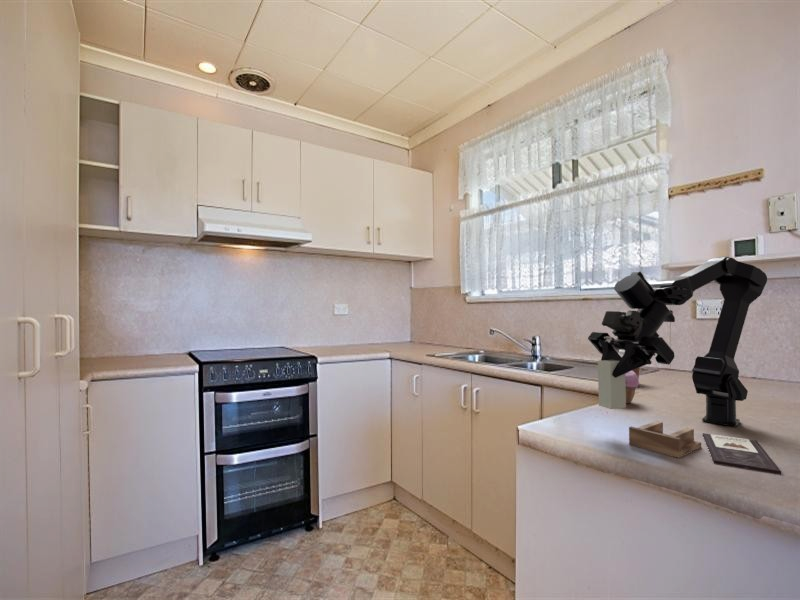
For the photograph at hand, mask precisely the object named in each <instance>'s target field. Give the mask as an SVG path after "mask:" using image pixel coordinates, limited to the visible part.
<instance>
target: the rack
mask: <svg viewBox="0 0 800 600" xmlns="http://www.w3.org/2000/svg"><path fill="white" fill-rule="evenodd" d="M694 429H695V428H691V427H685V428H682V429H680V430H678V431H675V432H672V433H670V434H668V433H664V422H663V421H659V420H654V421H652V422H649V423H647V424H645V425H644V424H643V425H641V426H639V427H635V426H628V432H629V433H628V439H629V440H628V445H631V446H634V447H637V448H641V449H645V450H648V451H652V452H655V453H658V452H659V454H662V453H663V454H662V455H665V454H667V455H666V456H669V455H671V456H670V457H673V456H675V457H674V458H676V457H678V458H677V459H680V458H682V457H684V456H683V455H685V454H687V453H689V452H691V451H693V450H695V449H697V448H699V449H701V448H702V442H701V441H696V440H695V430H694ZM700 447H701V448H700ZM697 450H698V449H697ZM695 451H696V450H695ZM693 452H694V451H693ZM691 453H692V452H691ZM689 454H690V453H689ZM687 455H688V454H687ZM681 456H682V457H681ZM685 456H686V455H685ZM679 457H680V458H679Z"/></svg>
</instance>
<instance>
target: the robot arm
mask: <svg viewBox="0 0 800 600" xmlns="http://www.w3.org/2000/svg"><path fill="white" fill-rule="evenodd" d="M711 282H714V283H716V284H718V285H719V291H720V294H721V295H722V297H723V303H722V306H721V310H720V313H719V317H718V319H717V323H716V327H715V330H714V333H713V337H712V340H711V342H710V345H709V351H708V352H707V353H706V354H705V355H703V356H700V355H698V356H696V358H695V359H694V360H695V361H694V365H693V367H692V369H691V372H692V374H691V379H692V382H693V386H694V389H695V392H696V394H698V395H700V394H701V395H704V396H705V415H704V416H703V418H701V421H702V422H706V423H711V424H717V425H723V426H729V427H737V426H738V425H739V423H740V422H741V420H740V419H739V418H737V409H736V408H737V402H738V401H739V402H743V401H744V400H747V398H748V397H747V396H748V392H749V391H748V389H747V388H746V387H745V385H744V384H743V383H742V382H741V381H740V379H739V375H740V369H739V367H738V365H737V363H736V360H735V356H736V353H737V350H738V345H739V343H740V342H739V341H740V339H741V335H742V332H743V328H744V325H745V320H746V318H747V314H748V311H749V307H750V305H751V304H752V303H753V302H754V301H756V300H757V299H758V298H759V297H760V296H762V293H763V292H764V289H765V286H766V284H767V282H768V276H767V274H766V272H764V271H763V270H762V269H761V268H758V267H757V266H755V265H753V264H750V263H746V262H741V261H738V260H737V259H735V258H733V257H730V256H723V257H713V258H710V259H708V260H706V262H704V263H702V264H700V265H698V266H697V267H694V268H692V269H690V270H689V271H686V272H684V273H683V274H680V275H678V276H676V277H670V278H664V279H659V280H656V281H652V282H651V283H649V282H648V280H647V279H646V277H645V276H644V274H643V273H642V271H633V272H631V273H630V275H629V274H628V276H625V277H623V278H622V279H620V280H619V281H617V282H616V283H615V284H614V287H613V290H614V292H616V293H617V295H618V296H619V297H620V298H621V300H622V301H623V302H624V304H625V305H626V306H627V308H629V309H633V310H628V311H627V312H625V311H619V310H618V311H616V310H612V311H611V310H607V311H605V313H604V316H603V319H602V322H601V325H602V326H603V327H607V328H608V329H611V330H612V332H611V333H612V334H613V335H614V336H615V337H617V338H615V337H612V336H610V334H609V333H608V332H605V331H603V332H601V331H592V332H591V333H590V334H589V336H588V337H587V340H588V341H589V342H590V343H591V344H592V345H593V347H594V348H595V349H596V350H597V351H598V353H600V354H601V359H600V360H618V361H619V363H618V364H617V366H616V367H615V369H614V371H613V373H612V375H613V376H614V377H615V378H616V377H619V376H621V375H623V374H625V373H627V372H629V371H632V370H634V369H636V368H639V367H640V368H642V367H644V366H647V365H652V358H653V357H655V361H656V363H658V364H662V365H671V363H672V361H673V360H674V359H675V351H674V350H673V349H672V348H671V346H670V345H669V344H668V343H667V342H666V340H665V339H664V338H663V337H661V336H660V334H658V330H659V329H660V328H661V327H662V325H663V323H675V322H676V317H675V315H674V314H673V313H674V311H673V309H672V310H671V309H669V308H668V307H667V306H681V305H684V304H686V303H687V302H688V301H689V300H690V299H692V297H694V292H695V291H697V290H699V289H700V288H702V287H704V286H706V285H708V284H710V283H711ZM636 309H637V310H636ZM619 350H625V353H624V355H623V357H621V356H620V355H619V354H618V353H619ZM640 368H639V369H640Z"/></svg>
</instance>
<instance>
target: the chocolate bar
mask: <svg viewBox="0 0 800 600" xmlns="http://www.w3.org/2000/svg"><path fill="white" fill-rule="evenodd" d="M703 437H704V438H703ZM702 438H703V440H704V443H705V442H706V443H705V445H706V447H708V448H707V450H708V449H709V450H708V452H710V453H709V455H710V454H711V455H710V458H711V457H712V458H711V460H712V463H713V462H714V463H716V465H721V464H722V465H721V466H727V465H728V466H729V467H733V466H734V467H733V468H740V469H746V470H752V471H758V472H765V473H770V474H777V475H782V470H781V469H780V468H779V467H778V466H777V465H776V463H775V462H774V461H773V459H772V458H771V457H770V455H769V454H768V453H767V452H766V450H765V449H764V448H763V447H762V444H761V443H759V441H758V440H756V439H748V438H741V437H736V436H735V437H733V436H727V435H720V434H711V433H705V432H704V433H703V432H702ZM714 463H713V464H714Z"/></svg>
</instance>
